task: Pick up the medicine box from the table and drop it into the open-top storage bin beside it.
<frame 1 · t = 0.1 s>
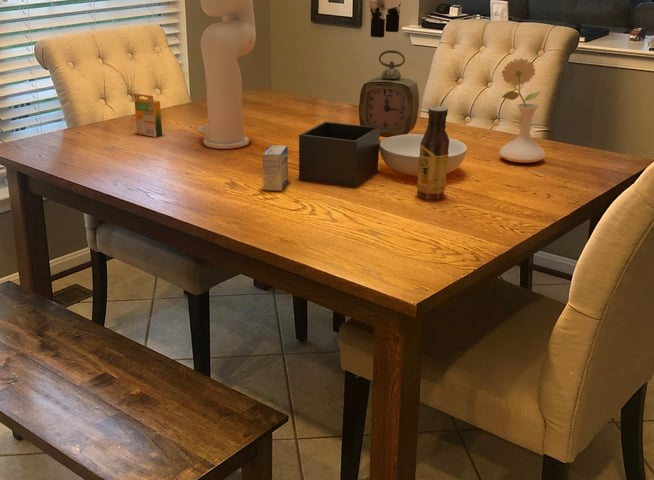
hand: (384, 34, 192), 31 cm above the table, tool pointing down, fingers open, 9 cm apart
sauce bottle: (430, 197, 182), on the table
medicine box: (275, 186, 190), on the table
tabletop clock: (387, 146, 221), on the table
flower in vase: (517, 160, 208), on the table
open-top storage bin: (339, 175, 197), on the table
crayon box: (149, 135, 234), on the table
serving bowl: (421, 173, 199), on the table
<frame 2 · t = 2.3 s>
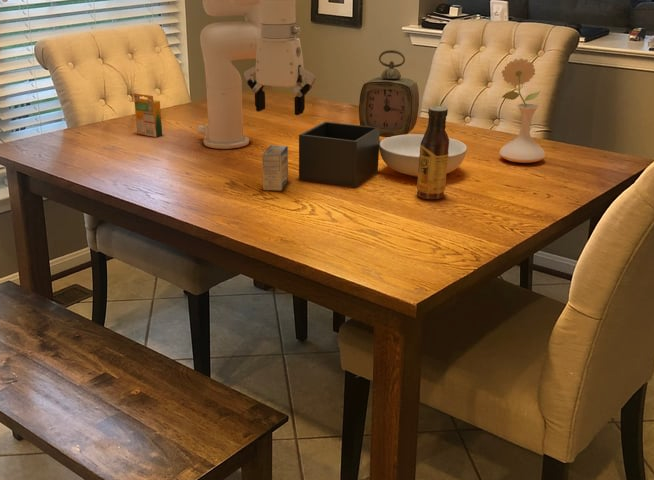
hand: (279, 112, 183), 17 cm above the table, tool pointing down, fingers open, 9 cm apart
nothing on the table moved.
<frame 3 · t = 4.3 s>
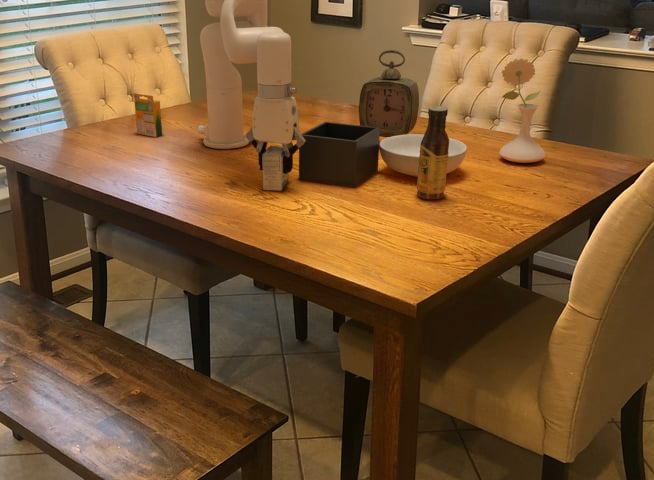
hand: (275, 169, 188), 4 cm above the table, tool pointing down, fingers closed on medicine box, 5 cm apart
medicine box: (275, 186, 190), on the table, touching gripper
everything else where it was.
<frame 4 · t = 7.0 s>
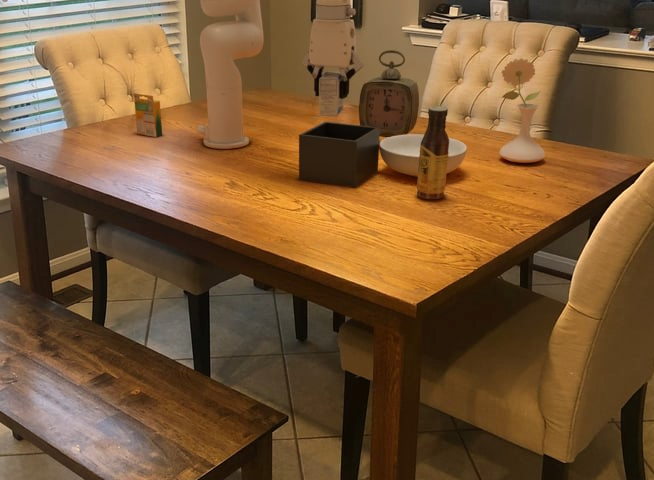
hand: (331, 95, 187), 19 cm above the table, tool pointing down, fingers closed on medicine box, 5 cm apart
medicine box: (330, 113, 189), point 15 cm above the table, touching gripper
everything else where it was.
when the fingers open (9 cm above the table, at t = 10.1 s): medicine box drops 5 cm, resting on open-top storage bin.
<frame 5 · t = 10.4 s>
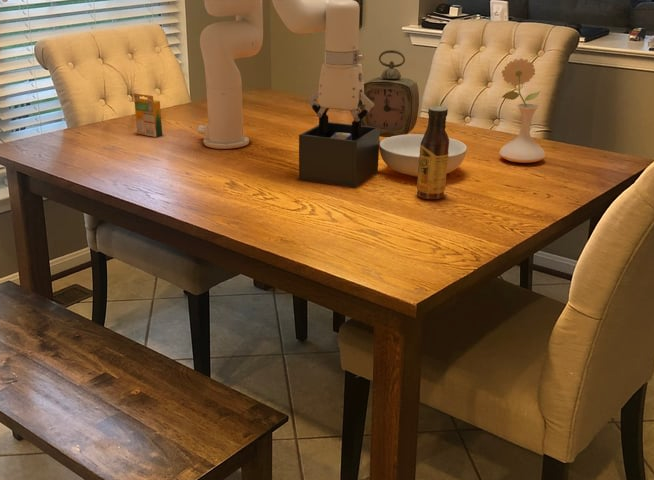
hand: (339, 134, 193), 10 cm above the table, tool pointing down, fingers open, 7 cm apart
medicine box: (337, 172, 197), point 1 cm above the table, touching open-top storage bin
everything else where it was.
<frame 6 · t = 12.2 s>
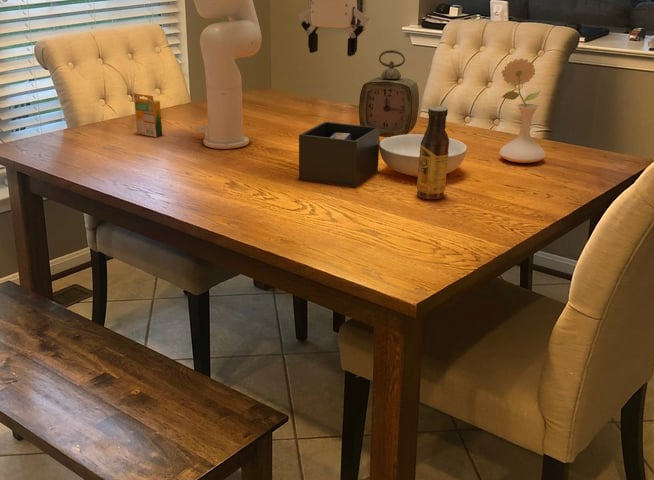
hand: (332, 53, 189), 28 cm above the table, tool pointing down, fingers open, 9 cm apart
nothing on the table moved.
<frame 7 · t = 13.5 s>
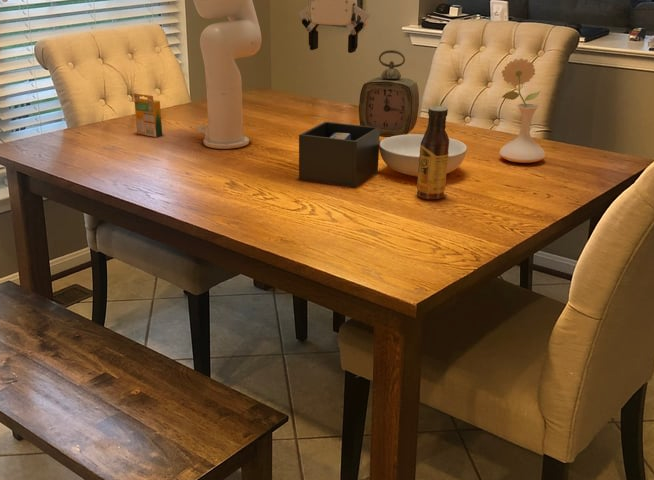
hand: (332, 50, 189), 28 cm above the table, tool pointing down, fingers open, 9 cm apart
nothing on the table moved.
at the end: medicine box inside the target area in the open-top storage bin (0.3 cm from its centre), point 0.6 cm above the open-top storage bin's base; the gripper is holding nothing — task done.
